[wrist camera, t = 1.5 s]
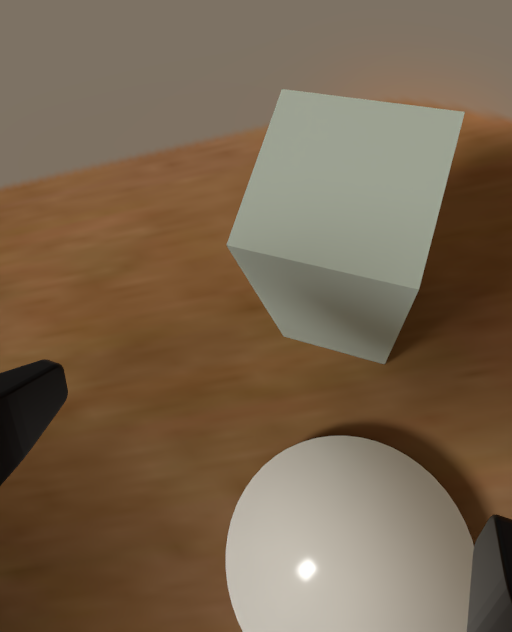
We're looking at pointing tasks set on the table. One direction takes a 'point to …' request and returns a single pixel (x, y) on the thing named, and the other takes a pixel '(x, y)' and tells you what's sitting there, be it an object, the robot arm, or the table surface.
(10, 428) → the robot arm
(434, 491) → the coaster
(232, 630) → the table surface
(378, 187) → the sage block
